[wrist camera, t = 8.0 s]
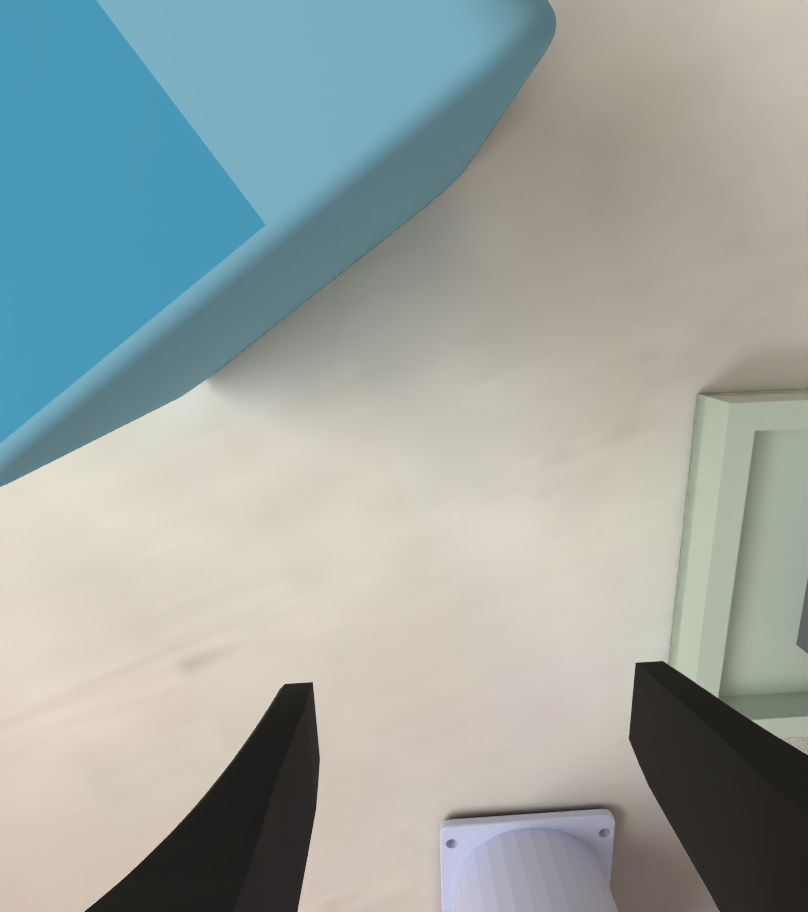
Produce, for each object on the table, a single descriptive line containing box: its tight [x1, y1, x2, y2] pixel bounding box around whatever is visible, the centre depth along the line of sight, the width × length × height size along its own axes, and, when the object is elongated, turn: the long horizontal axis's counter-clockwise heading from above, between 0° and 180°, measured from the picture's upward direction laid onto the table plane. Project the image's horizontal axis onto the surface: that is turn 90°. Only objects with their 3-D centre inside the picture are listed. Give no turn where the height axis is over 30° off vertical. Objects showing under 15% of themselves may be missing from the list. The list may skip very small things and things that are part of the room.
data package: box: [0, 0, 556, 487], centre depth 13 cm, size 12×4×12 cm, turn 127°
